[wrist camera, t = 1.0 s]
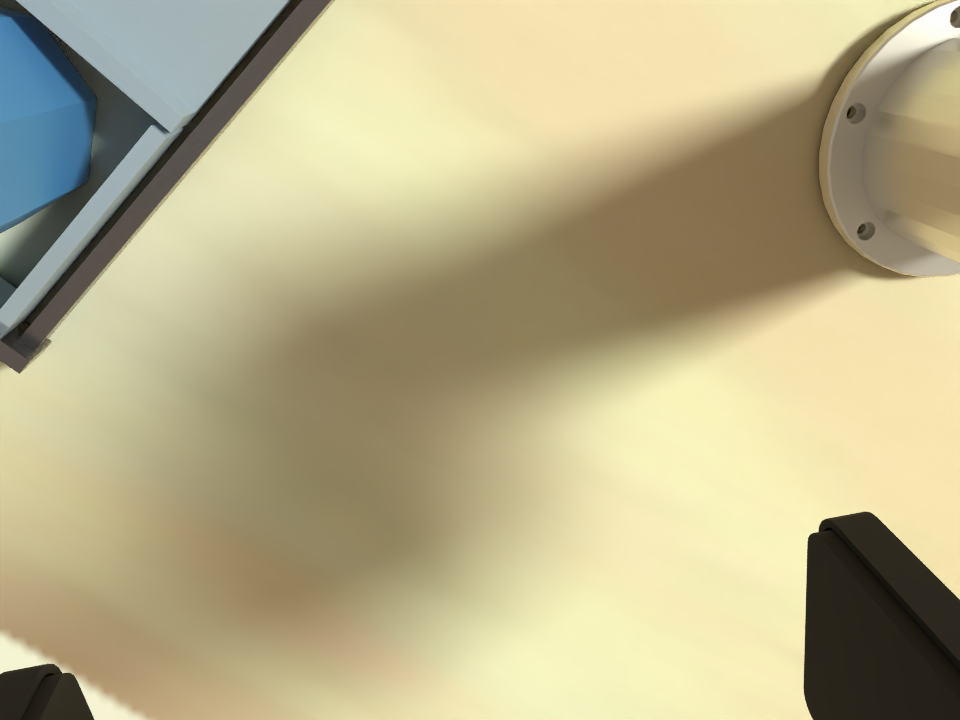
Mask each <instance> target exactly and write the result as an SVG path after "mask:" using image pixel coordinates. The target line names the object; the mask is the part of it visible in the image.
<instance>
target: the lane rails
mask: <svg viewBox="0 0 960 720" xmlns="http://www.w3.org/2000/svg"><path fill="white" fill-rule="evenodd" d="M334 1H335V0H302V1H301V2H300V3H299V5H298V6H297V7H296V8H295V9H294V11H293V12H292V13H291V14H290V15H289V17H288V18H287V19H286V20H285V21H284V23H283V24H282V25H281V26H280V27H279V29H278V30H277V31H276V32H275V33H274V35H273V36H272V37H271V38H270V39H269V41H268V42H267V43H266V44H265V45H264V46H263V48H262V49H261V50H260V51H259V52H258V54H257V55H256V56H255V57H254V58H253V60H252V61H251V62H250V63H249V64H248V66H247V67H246V68H245V69H244V70H243V72H242V73H241V74H240V75H239V76H238V78H237V79H236V80H235V81H234V82H233V84H232V85H231V86H230V87H229V88H228V90H227V91H226V92H225V93H224V94H223V96H222V97H221V98H220V99H219V100H218V101H217V103H216V104H215V105H214V106H213V107H212V109H211V110H210V111H209V112H208V113H207V115H206V116H205V117H204V118H203V119H202V121H201V122H200V123H199V124H198V125H197V127H196V128H195V129H194V130H193V131H192V133H191V134H190V135H189V136H188V137H187V139H186V140H185V141H184V142H183V143H182V145H181V146H180V147H179V148H178V149H177V151H176V152H175V153H174V154H173V155H172V156H171V158H170V159H169V160H168V161H167V162H166V164H165V165H164V166H163V167H162V168H161V170H160V171H159V172H158V173H157V174H156V176H155V177H154V178H153V179H152V180H151V182H150V183H149V184H148V185H147V186H146V188H145V189H144V190H143V191H142V192H141V194H140V195H139V196H138V197H137V198H136V200H135V201H134V202H133V203H132V204H131V206H130V207H129V208H128V209H127V210H126V211H125V213H124V214H123V215H122V216H121V217H120V219H119V220H118V221H117V222H116V223H115V225H114V226H113V227H112V228H111V229H110V231H109V232H108V233H107V234H106V235H105V237H104V238H103V239H102V240H101V241H100V243H99V244H98V245H97V246H96V247H95V249H94V250H93V251H92V252H91V253H90V255H89V256H88V257H87V258H86V259H85V261H84V262H83V263H82V264H81V265H80V266H79V268H78V269H77V270H76V271H75V272H74V274H73V275H72V276H71V277H70V278H69V280H68V281H67V282H66V283H65V284H64V286H63V287H62V288H61V289H60V290H59V292H58V293H57V294H56V295H55V296H54V298H53V299H52V300H51V301H50V302H49V304H48V305H47V306H46V307H45V308H44V310H43V311H42V312H41V313H40V314H39V316H38V317H37V318H36V319H35V320H34V321H33V323H32V324H31V325H30V326H29V325H28V324H27V323H25V322H24V321H22V322H21V323H20V324H19V325H17V326H16V327H15V328H14V329H12V330H11V331H10V332H9V333H7V334H6V335H5V336H4V337H2V338H1V339H0V361H2V362H3V363H5V364H6V365H8V366H9V367H10V368H12V369H13V370H15V371H16V372H18V373H19V374H20V373H21V372H22V371H23V370H24V369H25V368H26V367H27V366H28V365H29V364H31V363H32V362H33V361H34V360H35V359H36V358H37V357H38V356H39V355H40V354H41V353H42V352H43V351H44V350H45V349H46V348H47V346H48V345H49V344H50V343H51V342H52V341H50V340H49V339H48V338H49V337H50V336H51V334H52V333H53V332H54V331H55V330H56V329H57V327H58V326H59V325H60V324H61V323H62V322H63V320H64V319H65V318H66V317H67V316H68V314H69V313H70V312H71V311H72V310H73V309H74V307H75V306H76V305H77V304H78V303H79V301H80V300H81V299H82V298H83V297H84V296H85V294H86V293H87V292H88V291H89V290H90V288H91V287H92V286H93V285H94V284H95V283H96V281H97V280H98V279H99V278H100V277H101V275H102V274H103V273H104V272H105V271H106V270H107V268H108V267H109V266H110V265H111V264H112V263H113V261H114V260H115V259H116V258H117V257H118V255H119V254H120V253H121V252H122V251H123V250H124V248H125V247H126V246H127V245H128V244H129V242H130V241H131V240H132V239H133V238H134V237H135V235H136V234H137V233H138V232H139V231H140V229H141V228H142V227H143V226H144V225H145V224H146V222H147V221H148V220H149V219H150V218H151V217H152V215H153V214H154V213H155V212H156V211H157V209H158V208H159V207H160V206H161V205H162V204H163V202H164V201H165V200H166V199H167V198H168V196H169V195H170V194H171V193H172V192H173V191H174V189H175V188H176V187H177V186H178V185H179V183H180V182H181V181H182V180H183V179H184V178H185V176H186V175H187V174H188V173H189V172H190V170H191V169H192V168H193V167H194V166H195V165H196V163H197V162H198V161H199V160H200V159H201V158H202V156H203V155H204V154H205V153H206V152H207V150H208V149H209V148H210V147H211V146H212V145H213V143H214V142H215V141H216V140H217V139H218V137H219V136H220V135H221V134H222V133H223V132H224V130H225V129H226V128H227V127H228V126H229V124H230V123H231V122H232V121H233V120H234V119H235V117H236V116H237V115H238V114H239V113H240V112H241V110H242V109H243V108H244V107H245V106H246V104H247V103H248V102H249V101H250V100H251V99H252V97H253V96H254V95H255V94H256V93H257V91H258V90H259V89H260V88H261V87H262V86H263V84H264V83H265V82H266V81H267V80H268V78H269V77H270V76H271V75H272V74H273V73H274V71H275V70H276V69H277V68H278V67H279V65H280V64H281V63H282V62H283V61H284V60H285V58H286V57H287V56H288V55H289V54H290V53H291V51H292V50H293V49H294V48H295V47H296V45H297V44H298V43H299V42H300V41H301V40H302V38H303V37H304V36H305V35H306V34H307V32H308V31H309V30H310V29H311V28H312V27H313V25H314V24H315V23H316V22H317V21H318V19H319V18H320V17H321V16H322V15H323V14H324V12H325V11H326V10H327V9H328V8H329V7H330V5H331V4H332V3H333V2H334Z"/></svg>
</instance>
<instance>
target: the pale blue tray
mask: <svg viewBox="0 0 960 720" xmlns="http://www.w3.org/2000/svg"><path fill="white" fill-rule="evenodd" d="M16 1H17V2H19V3H20V4H21V5H22V6H23V7H24V8H26V9H27V10H28V11H29V12H30V13H31V14H33V15H34V16H35V17H36V18H37V19H38V20H40V21H41V22H42V23H43V24H44V25H45V26H47V27H48V28H49V29H50V30H51V31H52V32H54V33H55V34H56V35H57V36H58V37H59V38H61V39H62V40H63V41H64V42H65V43H66V44H68V45H69V46H70V47H71V48H72V49H73V50H75V51H76V52H77V53H78V54H79V55H80V56H82V57H83V58H84V59H85V60H86V61H87V62H89V63H90V64H91V65H92V66H93V67H94V68H96V69H97V70H98V71H99V72H100V73H101V74H103V75H104V76H105V77H106V78H107V79H108V80H110V81H111V82H112V83H113V84H114V85H115V86H117V87H118V88H119V89H120V90H121V91H123V92H124V93H125V94H126V95H127V96H128V97H130V98H131V99H132V100H133V101H134V102H135V103H137V104H138V105H139V106H140V107H141V108H142V109H144V110H145V111H146V112H147V113H148V114H149V115H151V116H152V117H153V118H154V119H155V120H156V121H158V123H156V124H153V125H151V126H150V127H149V128H148V130H147V131H146V132H145V133H144V134H143V136H142V137H141V138H140V139H139V140H138V142H137V143H136V144H135V145H134V147H133V148H132V149H131V150H130V151H129V153H128V154H127V155H126V156H125V158H124V159H123V160H122V161H121V162H120V164H119V165H118V166H117V167H116V169H115V170H114V171H113V172H112V173H111V175H110V176H109V177H108V178H107V180H106V181H105V182H104V183H103V184H102V186H101V187H100V188H99V189H98V191H97V192H96V193H95V194H94V195H93V197H92V198H91V199H90V200H89V202H88V203H87V204H86V205H85V206H84V208H83V209H82V210H81V211H80V212H79V214H78V215H77V216H76V217H75V219H74V220H73V221H72V222H71V223H70V225H69V226H68V227H67V228H66V230H65V231H64V232H63V233H62V234H61V236H60V237H59V238H58V239H57V241H56V242H55V243H54V244H53V245H52V247H51V248H50V249H49V250H48V252H47V253H46V254H45V255H44V256H43V258H42V259H41V260H40V261H39V263H38V264H37V265H36V266H35V267H34V269H33V270H32V271H31V272H30V274H29V275H28V276H27V277H26V278H25V280H24V281H23V282H22V283H21V284H20V286H19V287H18V288H17V289H16V288H15V287H14V286H12V285H11V284H9V283H8V282H7V281H5V280H4V279H3V278H1V277H0V339H1V338H2V337H4V336H5V335H6V334H7V333H9V332H10V331H11V330H12V329H14V328H15V327H16V326H17V325H19V324H20V323H21V322H22V321H24V320H25V319H26V318H28V317H29V315H30V314H31V313H32V312H33V311H34V309H35V308H36V307H37V306H38V305H39V303H40V302H41V301H42V300H43V299H44V297H45V296H46V295H47V294H48V293H49V291H50V290H51V289H52V288H53V287H54V285H55V284H56V283H57V282H58V281H59V279H60V278H61V277H62V276H63V275H64V273H65V272H66V271H67V270H68V269H69V267H70V266H71V265H72V264H73V263H74V261H75V260H76V259H77V258H78V257H79V255H80V254H81V253H82V252H83V251H84V249H85V248H86V247H87V246H88V245H89V243H90V242H91V241H92V240H93V239H94V237H95V236H96V235H97V234H98V233H99V231H100V230H101V229H102V228H103V227H104V225H105V224H106V223H107V222H108V221H109V219H110V218H111V217H112V216H113V215H114V213H115V212H116V211H117V210H118V209H119V207H120V206H121V205H122V204H123V203H124V201H125V200H126V199H127V198H128V197H129V195H130V194H131V193H132V192H133V191H134V189H135V188H136V187H137V186H138V185H139V183H140V182H141V181H142V180H143V179H144V177H145V176H146V175H147V174H148V173H149V171H150V170H151V169H152V168H153V167H154V165H155V164H156V163H157V162H158V161H159V159H160V158H161V157H162V156H163V155H164V153H165V152H166V151H167V150H168V149H169V147H170V146H171V145H172V144H173V143H174V141H175V140H176V139H177V138H178V137H179V135H180V134H181V133H182V132H183V131H184V128H183V126H185V125H187V124H189V123H190V122H191V121H192V120H193V119H194V117H195V116H196V115H197V114H198V113H199V111H200V110H201V109H202V108H203V107H204V105H205V104H206V103H207V102H208V101H209V99H210V98H211V97H212V96H213V95H214V93H215V92H216V91H217V90H218V89H219V87H220V86H221V85H222V84H223V83H224V81H225V80H226V79H227V78H228V77H229V75H230V74H231V73H232V72H233V71H234V69H235V68H236V67H237V66H238V65H239V63H240V62H241V61H242V60H243V59H244V57H245V56H246V55H247V54H248V53H249V51H250V50H251V49H252V48H253V47H254V45H255V44H256V43H257V42H258V41H259V39H260V38H261V37H262V36H263V34H264V33H265V32H266V31H267V30H268V28H269V27H270V26H271V25H272V24H273V22H274V21H275V20H276V19H277V18H278V16H279V15H280V14H281V13H282V12H283V10H284V9H285V8H286V7H287V6H288V4H289V3H290V2H291V1H292V0H16Z"/></svg>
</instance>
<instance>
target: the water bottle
mask: <svg viewBox="0 0 960 720" xmlns="http://www.w3.org/2000/svg"><path fill="white" fill-rule="evenodd" d="M96 103H97V98H96V97H95V95H94V94H93V92H92V91H91V90H90V88H89V87H88V85H87V84H86V83H85V81H84V80H83V79H82V77H81V76H80V74H79V73H78V72H77V70H76V69H75V67H74V66H73V65H72V63H71V62H70V60H69V59H68V58H67V56H66V55H65V54H64V52H63V51H62V49H61V48H60V47H59V45H58V44H57V42H56V41H55V40H54V38H53V37H52V36H51V34H50V33H49V31H48V30H47V29H46V27H45V26H44V24H43V23H42V22H41V21H40V20H38V19H37V18H36V17H35V16H32V15H29V14H25V13H22V12H18V11H15V10H11V9H8V8H4V7H1V6H0V233H2V232H4V231H6V230H8V229H10V228H11V227H13V226H15V225H17V224H19V223H21V222H23V221H24V220H26V219H27V218H29V217H31V216H32V215H34V214H36V213H37V212H39V211H40V210H42V209H44V208H45V207H47V206H49V205H50V204H52V203H54V202H55V201H57V200H58V199H60V198H62V197H63V196H65V195H67V194H68V193H70V192H72V191H73V190H75V189H76V188H78V187H80V186H81V185H83V184H85V183H86V182H88V174H89V165H90V156H91V147H92V138H93V129H94V120H95V112H96Z"/></svg>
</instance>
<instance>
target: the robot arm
mask: <svg viewBox="0 0 960 720" xmlns="http://www.w3.org/2000/svg"><path fill="white" fill-rule="evenodd" d="M950 15H951V19H950ZM849 108H851V112H850V114H849V116H847V111H848V109H849ZM846 116H847V117H846ZM819 181H820V186H821V191H822V196H823V201H824V205H825V207H826V209H827V212H828V214H829V216H830V218H831V221H832V223H833V225H834V227H835V228H836V229H837V231H838V232H839V233H840V235H841V236H842V237H843V239H844V240H845V241H846V243H847V244H849V245H850V246H851V247H852V248H853V249H855V250H856V251H857V252H858V253H859V254H861V255H862V256H863V257H865V258H867V259H869V260H870V261H872V262H874V263H876V264H878V265H879V266H881V267H884V268H886V269H889V270H892V271H895V272H897V273H900V274H904V275H911V276H918V277H941V276H951V275H956V274H960V0H938V1H936V2H933V3H931V4H929V5H927V6H925V7H922V8H920V9H918V10H916V11H914V12H912V13H910V14H909V15H908V16H906V17H905V18H903V19H902V20H900V21H899V22H897V23H896V24H894V25H893V26H891V27H890V28H889V29H887V30H886V31H885V32H884V33H883V34H882V35H881V36H880V37H879V38H878V39H877V40H876V41H875V42H874V43H873V44H872V45H871V46H869V47H868V48H867V49H866V50H865V52H864V53H863V54H862V56H861V57H860V58H859V60H858V61H857V62H856V64H855V65H854V66H853V67H852V69H851V70H850V71H849V73H848V74H847V76H846V78H845V79H844V81H843V83H842V85H841V87H840V89H839V91H838V92H837V94H836V96H835V98H834V100H833V102H832V105H831V108H830V111H829V114H828V116H827V119H826V122H825V125H824V128H823V134H822V140H821V146H820V151H819ZM860 225H861V226H860ZM859 227H860V229H859V230H858V228H859ZM857 230H858V231H857ZM804 695H805V700H806V703H807V707H808V709H809V712H810V714H811V716H812V718H813V720H960V600H959V599H958V598H957V597H956V596H955V595H954V594H953V593H952V592H951V591H950V590H949V589H948V588H947V587H946V586H945V585H944V584H943V583H942V582H941V581H940V580H939V579H938V578H937V577H936V576H935V575H934V574H933V573H932V572H931V571H930V570H929V569H928V568H927V567H926V566H925V565H924V564H923V563H922V562H921V561H920V560H919V559H918V558H917V557H916V556H915V555H914V554H913V553H912V552H911V551H910V550H909V549H908V548H907V547H906V546H905V545H904V544H903V543H902V542H901V541H900V540H899V539H898V538H897V537H896V536H895V535H894V534H893V533H892V532H891V531H890V530H889V529H888V528H887V527H886V526H885V525H884V524H883V523H882V522H881V521H880V520H879V519H878V518H877V517H876V516H875V515H873V514H872V513H870V512H861V513H855V514H850V515H845V516H839V517H834V518H829V519H825V520H823V521H822V522H821V524H820V526H819V532H817V533H813V534H810V536H809V538H808V549H807V586H806V623H805V660H804ZM0 720H94V718H93V716H92V713H91V711H90V709H89V707H88V705H87V702H86V700H85V697H84V695H83V693H82V691H81V688H80V686H79V684H78V682H77V680H76V678H75V676H74V675H72V674H71V673H63V674H62V672H61V670H60V669H59V668H58V667H57V666H56V665H54V664H45V665H40V666H34V667H29V668H24V669H18V670H13V671H7V672H4V673H2V674H0Z"/></svg>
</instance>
